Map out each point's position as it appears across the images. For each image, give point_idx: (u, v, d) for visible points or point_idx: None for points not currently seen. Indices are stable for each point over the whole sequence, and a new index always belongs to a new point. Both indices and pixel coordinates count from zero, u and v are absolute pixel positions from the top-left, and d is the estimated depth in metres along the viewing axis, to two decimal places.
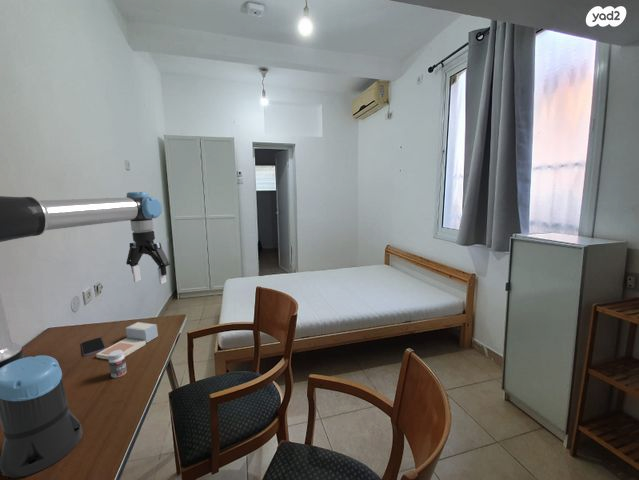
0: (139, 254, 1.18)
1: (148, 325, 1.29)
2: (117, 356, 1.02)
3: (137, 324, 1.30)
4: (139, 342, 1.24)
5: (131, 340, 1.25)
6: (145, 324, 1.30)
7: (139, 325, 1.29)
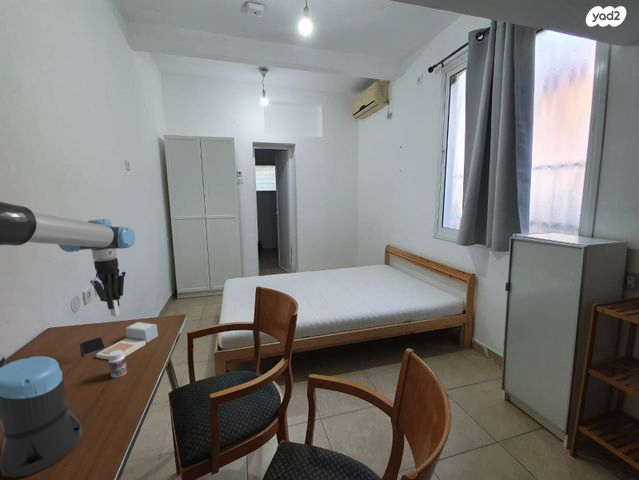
0: (110, 282, 1.16)
1: (148, 325, 1.29)
2: (117, 356, 1.02)
3: (137, 324, 1.30)
4: (139, 342, 1.24)
5: (131, 340, 1.25)
6: (145, 324, 1.30)
7: (139, 325, 1.29)
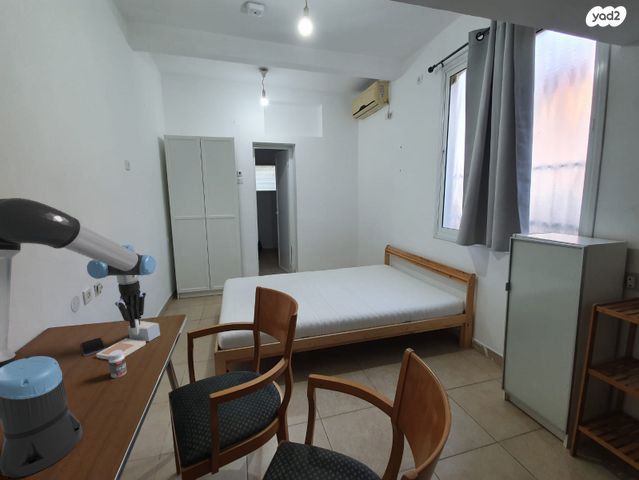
0: (132, 303, 1.25)
1: (150, 324, 1.30)
2: (117, 356, 1.02)
3: None
4: (139, 342, 1.24)
5: (131, 340, 1.25)
6: (147, 323, 1.31)
7: (141, 324, 1.30)
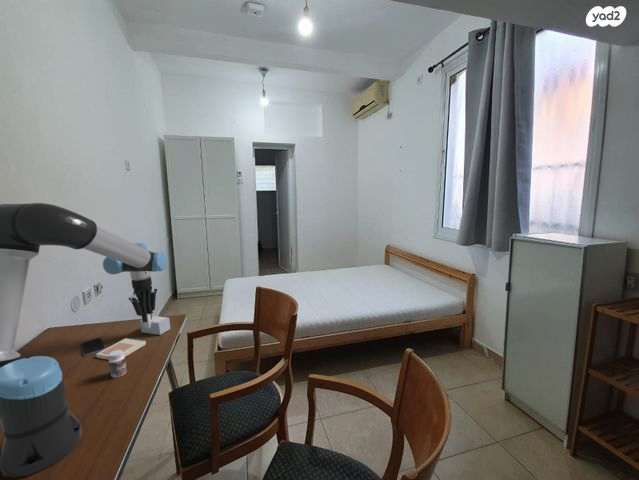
0: None
1: (161, 318, 1.36)
2: (117, 356, 1.02)
3: None
4: (139, 342, 1.24)
5: (131, 340, 1.25)
6: (158, 317, 1.37)
7: (152, 318, 1.36)
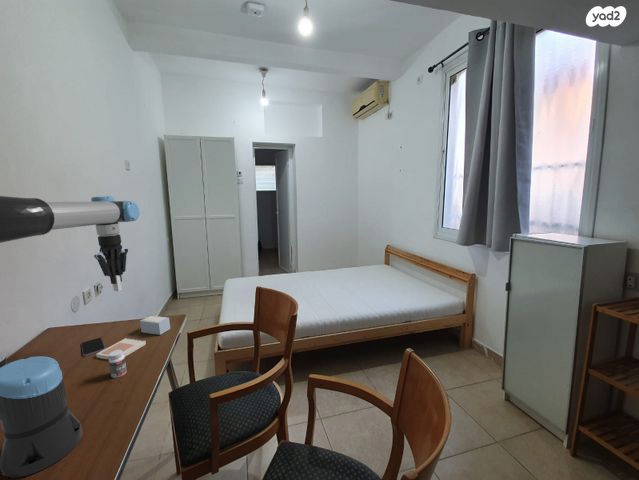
0: (113, 258, 1.20)
1: (161, 318, 1.36)
2: (117, 356, 1.02)
3: (150, 317, 1.37)
4: (139, 342, 1.24)
5: (131, 340, 1.25)
6: (158, 317, 1.37)
7: (152, 318, 1.36)
